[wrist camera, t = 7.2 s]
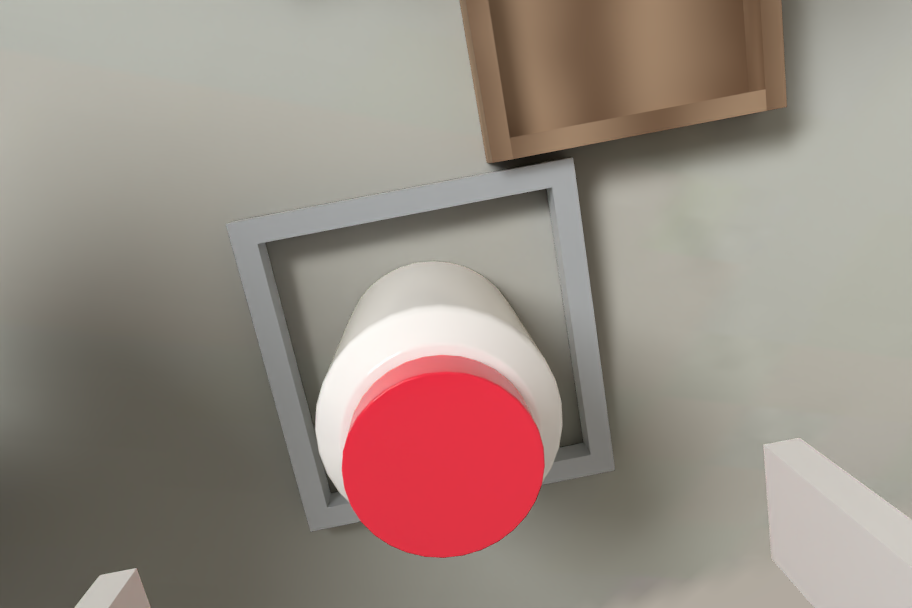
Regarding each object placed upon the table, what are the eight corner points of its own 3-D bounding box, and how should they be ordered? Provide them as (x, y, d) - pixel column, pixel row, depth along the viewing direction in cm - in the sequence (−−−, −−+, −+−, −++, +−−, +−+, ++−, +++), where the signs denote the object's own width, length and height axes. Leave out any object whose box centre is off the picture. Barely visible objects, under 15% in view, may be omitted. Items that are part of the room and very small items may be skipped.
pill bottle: (555, 345, 27) (643, 464, 17) (433, 459, 28) (443, 642, 18) (433, 223, 26) (445, 267, 15) (308, 348, 27) (236, 474, 16)
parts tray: (314, 516, 28) (310, 531, 27) (234, 220, 25) (225, 223, 24) (607, 457, 29) (615, 470, 28) (565, 157, 25) (573, 157, 24)
